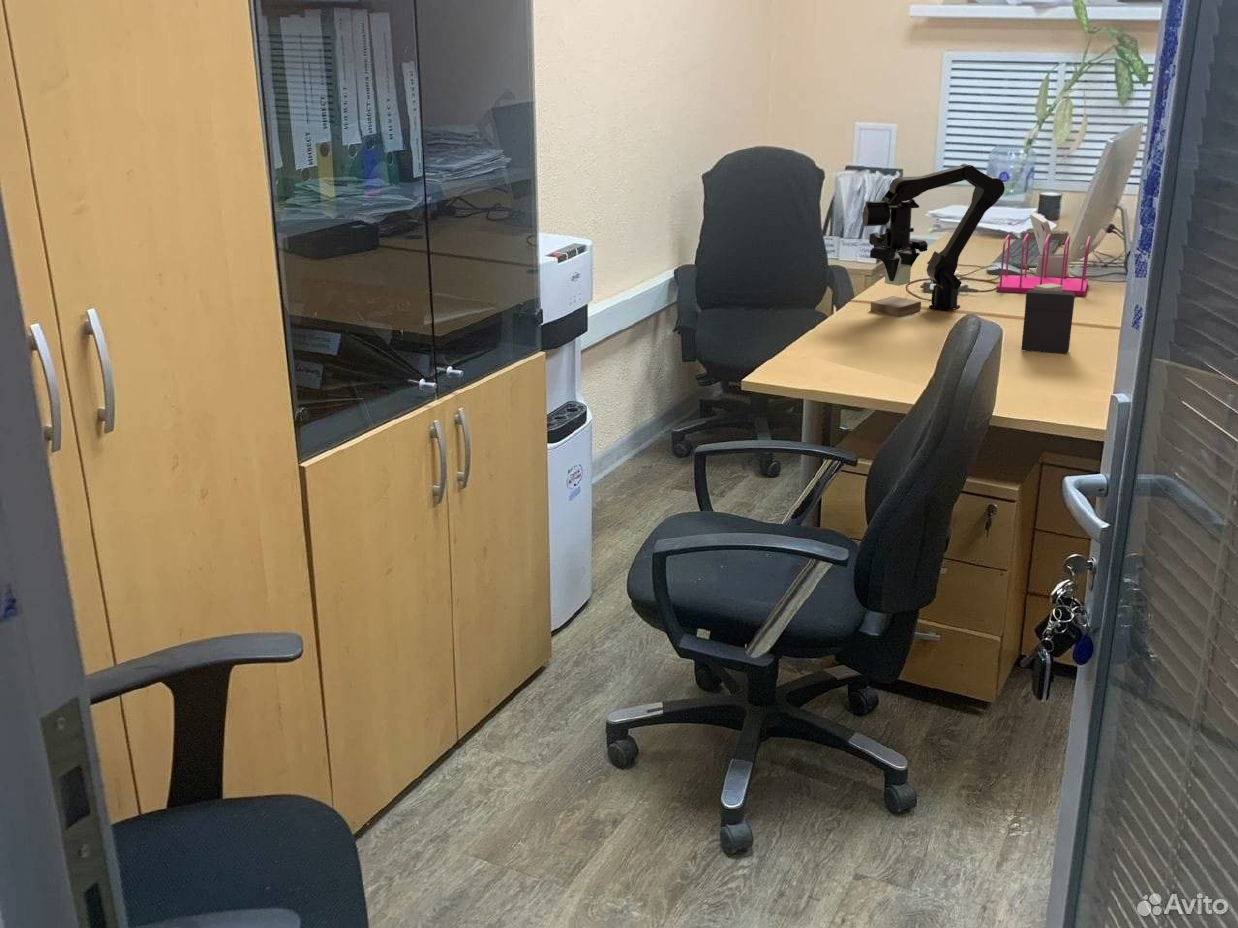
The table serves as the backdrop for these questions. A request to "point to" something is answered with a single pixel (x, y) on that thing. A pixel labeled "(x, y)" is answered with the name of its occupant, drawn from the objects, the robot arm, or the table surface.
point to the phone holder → (1054, 260)
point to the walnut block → (895, 306)
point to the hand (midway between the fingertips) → (897, 279)
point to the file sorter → (1028, 282)
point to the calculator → (1048, 321)
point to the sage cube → (900, 275)
